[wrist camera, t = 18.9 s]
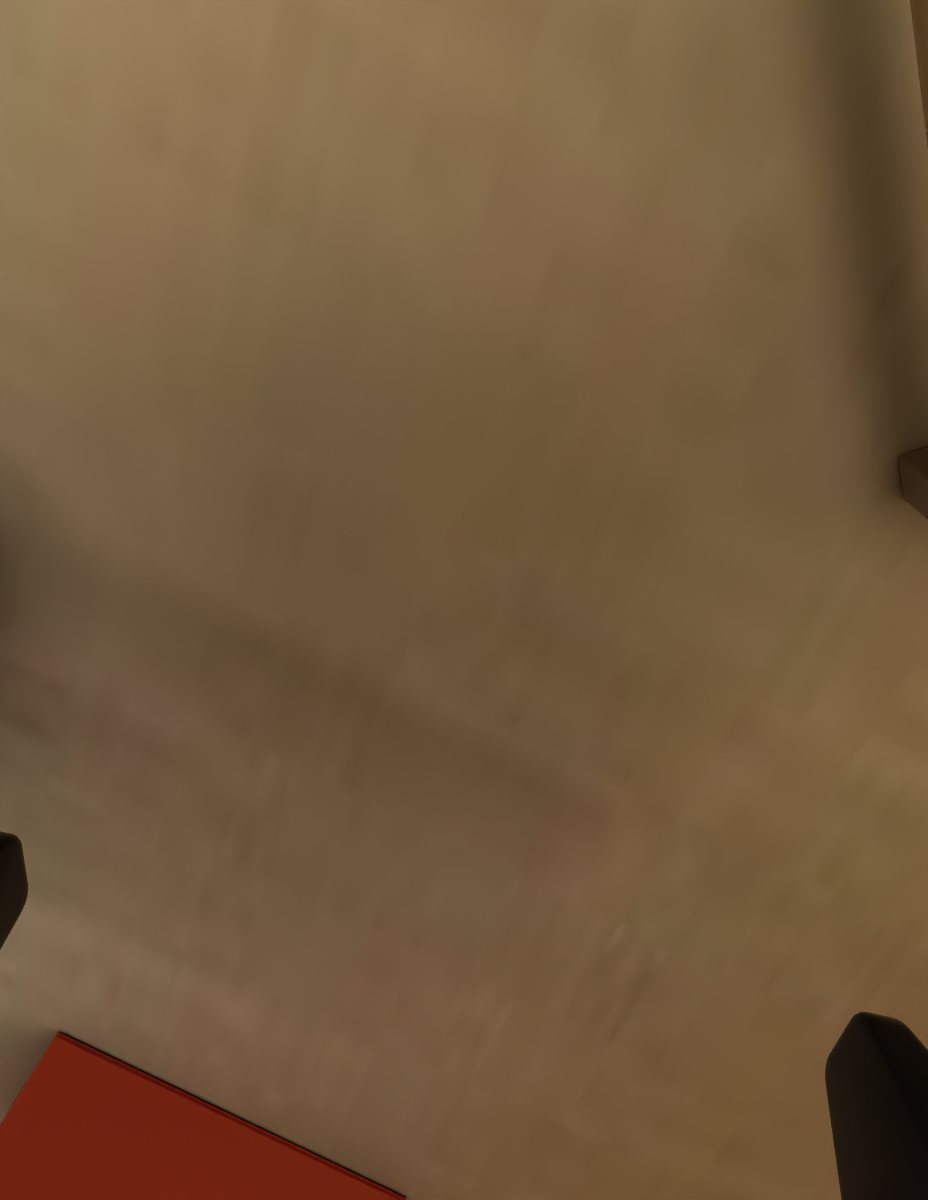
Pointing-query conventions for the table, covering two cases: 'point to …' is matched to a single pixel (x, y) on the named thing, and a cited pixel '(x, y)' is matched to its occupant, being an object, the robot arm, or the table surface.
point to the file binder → (147, 1142)
